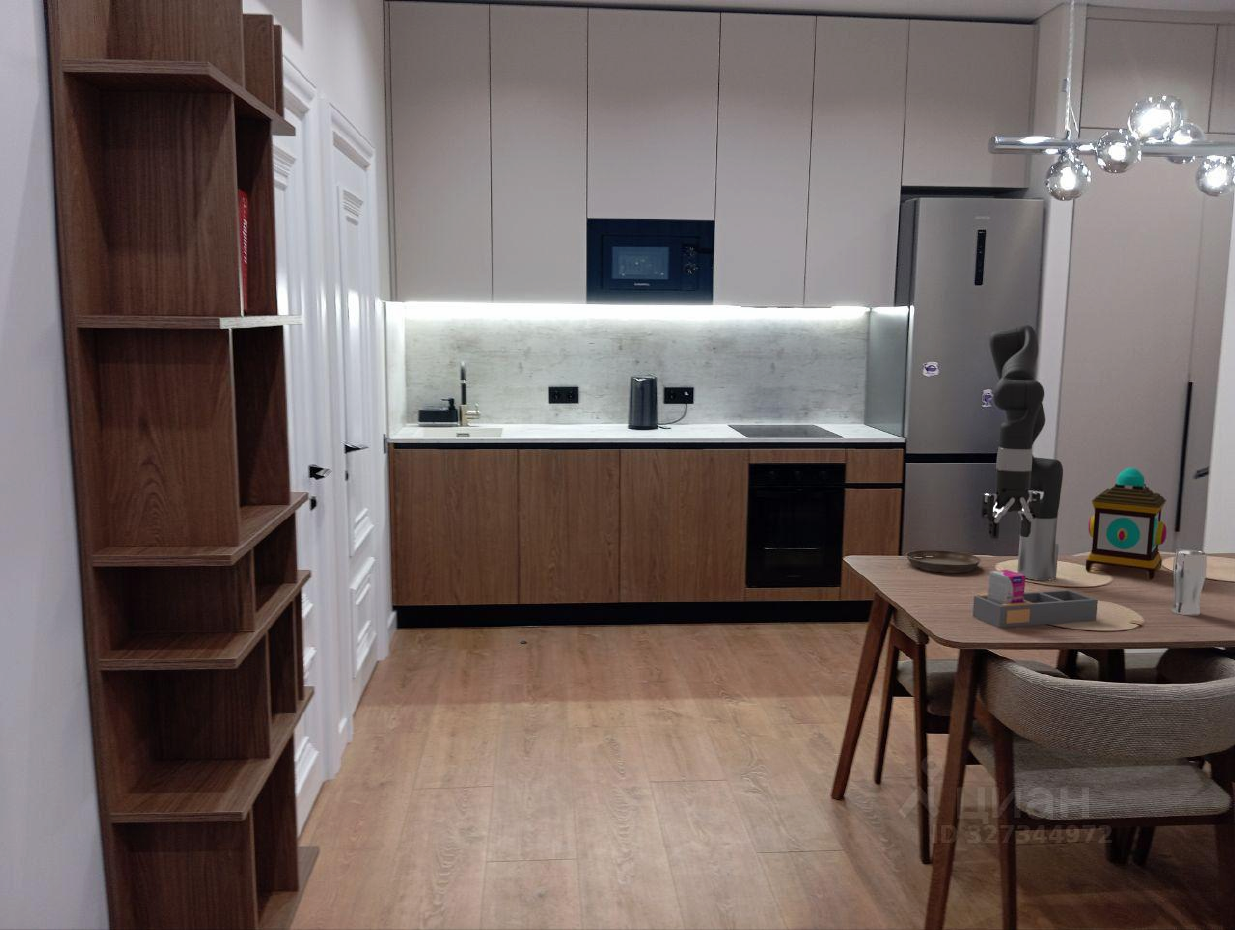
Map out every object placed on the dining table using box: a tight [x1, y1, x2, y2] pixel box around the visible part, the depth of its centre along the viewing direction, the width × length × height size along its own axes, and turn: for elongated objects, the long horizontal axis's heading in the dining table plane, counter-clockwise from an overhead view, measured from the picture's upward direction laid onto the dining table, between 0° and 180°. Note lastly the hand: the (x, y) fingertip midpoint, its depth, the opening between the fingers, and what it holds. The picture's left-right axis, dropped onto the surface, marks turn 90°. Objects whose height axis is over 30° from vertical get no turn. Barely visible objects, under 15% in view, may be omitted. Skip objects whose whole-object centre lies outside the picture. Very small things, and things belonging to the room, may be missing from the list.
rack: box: [972, 589, 1099, 629], centre depth 230 cm, size 27×10×5 cm, turn 106°
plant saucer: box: [905, 549, 982, 574], centre depth 283 cm, size 21×21×3 cm
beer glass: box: [1171, 548, 1208, 617], centre depth 237 cm, size 7×7×15 cm
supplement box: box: [987, 569, 1026, 605], centre depth 228 cm, size 6×6×12 cm
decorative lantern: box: [1085, 467, 1168, 581], centre depth 280 cm, size 20×20×30 cm
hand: (1009, 537), depth 226 cm, fingers open, 8 cm apart
